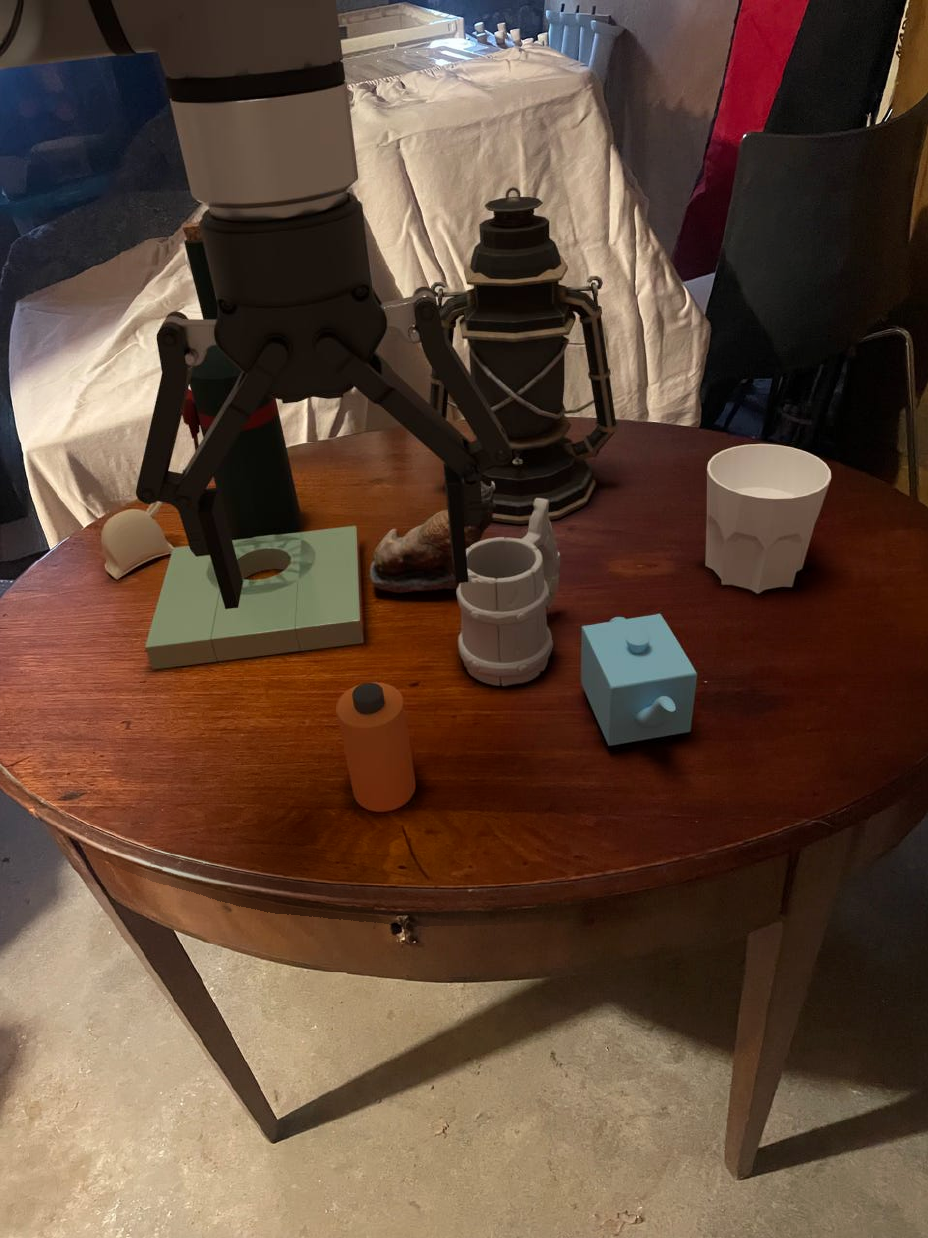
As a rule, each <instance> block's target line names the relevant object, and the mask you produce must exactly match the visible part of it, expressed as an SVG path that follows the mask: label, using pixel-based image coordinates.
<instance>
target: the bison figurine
mask: <svg viewBox="0 0 928 1238" xmlns="http://www.w3.org/2000/svg"><path fill="white" fill-rule="evenodd" d="M491 484H492V485H491V487H489V486H486V485H485V484H484V483H483V482H482V481H481V495H482V510H483V519H482V521H481V524H480V525H478V526H469V527H464V532H465V544H466V549H467V548H469V547H470V546H471V545H473V544H475V543H477V542H479V541H482V540H481V539H482V538H483V535H484V533H485V531H486V530H487V529H488V528H489V527H490V526H491V525H492V524H493V523H494V522H495V521H494V519H493V509H494V508H496V505H495V501H494V500H493V495H494V492H495V484H494V482H493V481H491ZM369 579H370V582H371V584H372V586H373V587H375V588H377V589H379V590H382V591H388V592H392V593H397V594H401V593H402V594H403V593H405V594H406V593H411V592H419V591H420V592H421V591H422V592H423V591H424V592H425V591H426V592H427V591H437V590H447V589H449V590H453V589H457V588H458V587H459V584H460V583H456V580H455V574H454V568H453V562H452V552H451V542H450V531H449V520H448V509H443V510H441V511H438V512H436V513H435V514H434V515H433V516H431V517H429V518H428V519H427V520H426V521H425V522H424V523H423V524H420V525H417V526H416V527H414V528H412V529H410V530H409V531H408V532H407V533H406V534H405V535H403V536H400V535H399V529H397V528H392V529H390V530H389V531H388V532H387V533H386V535H384V537H383V538H382V539H381V540H380V542H379V543H378V545H377V546H376V548H375V549H374V551H373V555H372V562H371V564H370V568H369Z"/></svg>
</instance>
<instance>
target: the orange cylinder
mask: <svg viewBox="0 0 928 1238" xmlns="http://www.w3.org/2000/svg"><path fill="white" fill-rule="evenodd" d="M335 713H336V718H337V723H338V727H339V732H340V736H341V742H342V746H343V750H344V756H345V761H346V765H347V769H348V770H347V771H348V773H349V774H348V775H349V779H350V784H351V789H352V794H353V798H354V799H355V801H356V802H357V804H358V805H359V806H360V807H362V809H365V810H368V811H371V812H375V813H376V812H377V813H384V812H390V811H394V810H397V809H399V808H401V807H402V806H404V805H406V804H407V803H408V802H409V801H410V800H411V798H412V797H413V796H414V793H415V790H416V787H417V786H416V776H415V771H414V763H413V758H412V749H411V744H410V743H411V742H410V739H409V730H408V729H409V728H408V723H407V722H408V721H407V717H406V716H407V715H406V709H405V701H404V697H403V694H402V693H401V692H400V691H399V690H398V689H397V688H396V687H395V686H393V685H391V684H388V683H385V682H377V681H375V682H374V681H373V682H365V683H361V684H357V685H355V686H353V687H351V688H349V689H348V690H346V691H345V692H344V693H342V695H341V696H340V697H339V698H338V700H337V702H336V706H335Z"/></svg>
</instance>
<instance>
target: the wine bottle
mask: <svg viewBox="0 0 928 1238" xmlns="http://www.w3.org/2000/svg"><path fill="white" fill-rule="evenodd" d="M199 222H200V221H194V222H185V223H184V224H183V226H182V231H183V233H184V236H185V240H184V241H183V243H184V247H185V251H186V255H187V259H188V264H189V267H190V272H191V275H192V280H193V284H194V287H195V292H196V296H197V300H198V304H199V308H200V312H201V316H202V319H206V320H217V316H218V305H217V300H216V296H215V291H214V287H213V283H212V278H211V274H210V270H209V265H208V261H207V257H206V252H205V248H204V244H203V240H202V235H201V231H200V227H199ZM241 372H242V370H241V369H240V368H238V367H237V366H236V365H235V364H234V363H233V362H232V361H231V360H230V359H229V358H228V357H227V356H226V355H225V354H224V353H223V352H222V351H221V350H220V349H219V348H218V346H217V345H215V346H211V347H209V348H208V349H207V353H206V355H205V358H204V360H203V362H202V363H201V364H200V365H198V366H193V371H192V375H191V380H190V384H189V388H188V392H187V396H186V400H185V404H184V408H183V413H182V420H183V423H184V424H185V425H186V426H188V428H189V432H190V436H191V439H193V444H194V445H193V446H194V452H195V451H196V450H197V448H198V446H199V445H200V443H199V436H198V435H199V433H200V432H201V434H202V435H201V436H202V439H203V438H204V436H205V435H206V433H207V431H208V430H209V428H210V426H211V425H212V423H213V421H214V419H215V418H216V416H217V414H218V413H219V411H220V409H221V408H222V406H223V404H224V403H225V401H226V399H227V398H228V396H229V394H230V393H231V391H232V389H233V388H234V386H235V384H236V381H237V379H238V378H239V376H240V374H241ZM200 430H201V431H200ZM213 481H214V485H215V488H218V490H219V493H220V497H221V501H222V505H223V508H224V512H225V516H226V520H227V523H228V527H229V531H230V535H231V539H232V540H240V539H248V538H253V537H259V536H268V535H281V534H290V533H298V532H300V530H301V528H302V527H303V524H304V522H303V518H302V513H301V509H300V504H299V500H298V495H297V490H296V485H295V480H294V477H293V471H292V468H291V462H290V457H289V454H288V450H287V444H286V439H285V434H284V430H283V426H282V421H281V416H280V411H279V408H278V403H277V399H276V398H273V397H271V396H269V395H268V394H265V396H264V398H263V399H262V401H261V402H260V404H259V406H258V407H257V409H256V411H255V412H254V414H253V415H252V416H251V417H250V418H249V420H248V421H247V423H246V424H245V426H244V428H243V429H242V431H241V432H240V434H239V436H238V437H237V439H236V441H235V442H234V444H233V445H232V447H231V449H230V450H229V452H228V454H227V455H226V457H225V458H224V460H223V462H222V463H221V465H220V466H219V468H218V470H217V471H216V473H215V475H214V476H213Z"/></svg>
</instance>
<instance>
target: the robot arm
mask: <svg viewBox="0 0 928 1238" xmlns="http://www.w3.org/2000/svg"><path fill="white" fill-rule="evenodd" d="M143 53H156V54H157V56H158V58H159V60H160V64H161V67H162V69H163V73H164V75H165V85H166V89H167V93H168V98H169V102H170V106H171V111H172V116H173V121H174V124H175V129H176V132H177V137H178V141H179V146H180V150H181V154H182V159H183V164H184V167H185V172H186V177H187V181H188V185H189V189H190V190H189V191H190V194H191V197H192V198H193V199H194V200H196V201H198V202H199V203H201V204H202V205H204V206H206V207H208V209H206V210H205V211H204V212H203V213H202V214H201V219H200V220H199V221H198V222H199V227H200V231H201V235H202V240H203V244H204V248H205V252H206V257H207V261H208V265H209V270H210V274H211V278H212V283H213V287H214V291H215V296H216V300H217V305H218V316H217V320H206V319H203V318H201V319H199V318H198V319H197V318H194V319H193V318H191V319H190V318H188V316H187V315H186V314H184V313H183V312H181V311H176V310H175V311H171V312H169V313H167V315H166V317H165V319H164V320H163V322H162V323H161V325H160V328H159V330H158V331H157V333H156V344H157V350H158V356H159V363H160V369H161V377H160V380H159V385H158V389H157V395H156V398H155V402H154V406H153V407H154V408H153V412H152V416H151V421H150V425H149V431H148V434H147V439H146V444H145V449H144V452H143V456H142V461H141V465H140V470H139V474H138V480H137V483H136V489H135V496H136V498H137V499H138V500H139V502H141V503H142V504H143V503H144V504H145V505H151V504H152V503H155V502H156V501H159V502H163V503H166V504H169V505H171V506H172V507H174V508H175V509H176V510H177V512H178V514H179V517H180V521H181V523H182V526H183V530H184V533H185V537H186V540H187V542H188V546H189V547H190V550H191V551H192V552H193V554H194V555H195V556H196V557H198V556H207V555H210V557H211V561H212V564H213V568H214V571H215V575H216V578H217V582H218V585H219V589H220V592H221V596H222V599H223V603H224V606H225V609H231V608H238V606H239V601H240V596H241V590H242V585H243V580H242V576H241V572H240V569H239V565H238V561H237V557H236V554H235V550H234V546H233V542H232V539H231V535H230V531H229V527H228V523H227V520H226V516H225V512H224V508H223V505H222V501H221V497H220V493H219V490H218V488H216V487H210V488H209V487H208V486H209V484H210V483H211V481H212V479H214V477H213V476H214V475H215V473H216V471H217V470H218V468H219V466H220V465H221V463H222V462H223V460H224V458H225V457H226V455H227V454H228V452H229V450H230V449H231V447H232V445H233V444H234V442H235V441H236V439H237V437H238V436H239V434H240V432H241V431H242V429H243V428H244V426H245V424H246V423H247V421H248V420H249V418H250V417H251V416H252V415H253V414H254V412H255V411H256V409H257V407H258V406H259V404H260V402H261V401H262V399H263V398H264V396H265V394H268V395H269V396H271V397H273V398H276V400H279V401H280V400H281V404H282V405H283V404H294V403H299V402H302V401H304V400H307V399H310V398H317V399H318V398H319V399H326V400H331V399H341V398H344V394H347V393H348V392H350V391H352V390H353V389H354V388H355V389H356V390H358V391H359V392H360V393H361V394H362V395H363V396H364V397H365V398H367V399H368V400H369V401H370V402H371V403H373V404H375V405H379V406H380V407H381V408H382V409H383V410H385V411H386V412H387V413H388V414H389V415H390V416H391V417H392V418H393V419H395V421H396V422H398V423H399V424H400V425H401V426H403V427H404V428H405V429H406V430H407V431H408V432H409V433H411V435H413V436H414V437H415V438H416V439H417V440H418V441H419V442H421V443H422V444H423V445H424V446H425V447H426V448H427V449H428V450H430V451H431V453H434V455H435V456H437V457H438V458H439V459H440V460H441V461H442V462H443V464H442V465H443V474H444V475H443V476H444V487H445V498H446V507H447V508H446V510H448V520H449V531H450V542H451V552H452V562H453V568H454V574H455V580H456V583H464V582H469V581H468V569H467V556H466V544H465V532H464V527H469V526H478V525H480V524H481V521H482V519H483V510H482V495H481V479H482V474H483V472H484V471H485V470H486V469H488V468H490V467H492V466H494V465H498V466H504V465H507V464H508V463H509V462H510V461H511V459H512V456H513V454H512V450H511V447H510V444H509V441H508V438H507V435H506V432H505V430H504V429H503V427H502V425H501V424H500V422H499V421H498V419H497V417H496V416H495V414H494V412H493V411H492V409H491V407H490V406H489V404H488V403H487V401H486V399H485V398H484V396H483V394H482V393H481V391H480V389H479V388H478V386H477V385H476V383H475V381H474V380H473V378H472V376H471V373H470V372H469V371H470V370H468V368H467V366H466V365H465V363H464V362H463V360H462V358H461V357H460V355H459V354H458V352H457V350H456V349H455V347H454V344H453V345H452V344H451V342H450V340H449V339H448V337H447V336H446V334H445V332H444V331H443V328H442V323H441V318H440V313H439V308H438V299H437V297H436V296H435V293H434V291H433V290H432V289H431V287H428V286H419V287H418V288H416V289H415V290H414V291H413V294H412V296H407V297H403V298H398V299H394V300H389V301H385V302H382V300H381V299H380V298H379V296H378V295H377V293H376V290H375V288H374V284H373V277H372V270H371V261H370V253H369V245H368V237H367V230H366V222H365V214H364V207H363V203H362V202H361V201H360V200H358V198H357V196H356V195H354V194H353V193H351V192H350V191H348V190H349V189H351V188H353V187H354V186H355V184H356V183H357V182H358V180H359V170H358V163H357V154H356V147H355V139H354V138H355V137H354V131H353V130H354V129H353V122H352V121H353V120H352V114H351V106H350V98H349V89H348V82H347V81H346V74H345V66H344V62H343V61H344V55H343V47H342V39H341V31H340V22H339V13H338V4H337V0H0V71H3V70H6V69H11V68H17V67H27V66H37V65H44V64H45V65H46V64H54V63H62V62H63V63H64V62H72V61H79V60H80V61H81V60H87V59H88V60H89V59H96V58H97V59H98V58H105V57H114V56H118V57H120V58H121V57H129V56H137V55H138V54H143ZM389 328H392V329H396V330H397V331H399V332H400V333H401V335H402V336H403V338H404V340H405V341H406V342H408V343H409V344H413V345H414V344H420V345H421V348H422V351H423V353H424V355H425V358H426V360H427V362H428V363H429V366H430V367H431V369H432V368H433V370H434V371H435V373H436V374H437V376H438V377H439V379H440V381H441V382H442V384H443V385H444V387H445V388H446V390H447V392H448V396H450V398H451V399H452V401H453V402H454V403H453V404H455V405H456V406H457V407H458V409H459V410H458V409H457V410H458V411H459V412H460V414H461V415H462V417H463V419H464V420H465V421H466V423H467V425H468V426H469V428H470V430H471V429H472V430H471V432H472V431H473V432H474V434H475V435H476V437H477V440H476V439H474V440H472V441H470V440H469V439H468V438H467V437H466V436H465V435H464V434H463V433H461V432H460V431H459V430H458V429H457V428H456V427H455V426H454V425H453V424H452V423H451V422H450V421H448V420H447V418H446V419H445V418H444V417H443V416H442V415H441V414H440V413H439V412H437V411H436V410H435V409H434V408H433V407H432V406H431V405H430V404H429V401H427V400H426V399H424V398H423V396H421V395H420V394H419V393H418V392H417V391H416V390H415V389H414V388H412V387H411V386H410V384H409V383H407V382H406V381H405V380H404V379H403V378H402V377H400V375H398V374H397V373H396V372H395V371H394V370H393V368H392V366H391V365H390V364H389V363H388V362H387V360H386V359H385V358H383V357H382V356H381V355H380V354H379V353H378V351H377V349H378V348H379V345H380V344H381V342H382V340H383V338H384V337H385V335H386V332H387V329H389ZM215 345H217V346H218V348H219V349H220V350H221V351H222V352H223V353H224V354H225V355H226V356H227V357H228V358H229V359H230V360H231V361H232V362H233V363H234V364H235V365H236V366H237V367H238V368H240V369H241V370H242V372H241V374H240V376H239V378H238V379H237V381H236V384H235V386H234V388H233V389H232V391H231V393H230V394H229V396H228V398H227V399H226V401H225V403H224V404H223V406H222V408H221V409H220V411H219V413H218V414H217V416H216V418H215V419H214V421H213V423H212V425H211V426H210V428H209V430H208V431H207V433H206V435H205V436H204V438H203V437H202V439H201V441H200V443H199V446H198V448H197V450H196V451H195V450H194V453H193V455H192V457H191V458H190V460H189V462H188V463H187V465H186V466H185V468H183V469H182V472H176V471H171V470H170V467H171V463H172V458H173V453H174V450H175V446H176V441H177V438H178V433H179V429H180V424H181V421H182V418H183V416H182V413H183V408H184V404H185V400H186V396H187V392H188V388H189V389H190V385H189V384H190V380H191V375H192V371H193V366H198V365H200V364H201V363H202V362H203V360H204V358H205V355H206V353H207V349H208V348H209V347H211V346H215ZM473 432H472V433H473ZM474 434H473V435H474Z"/></svg>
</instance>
